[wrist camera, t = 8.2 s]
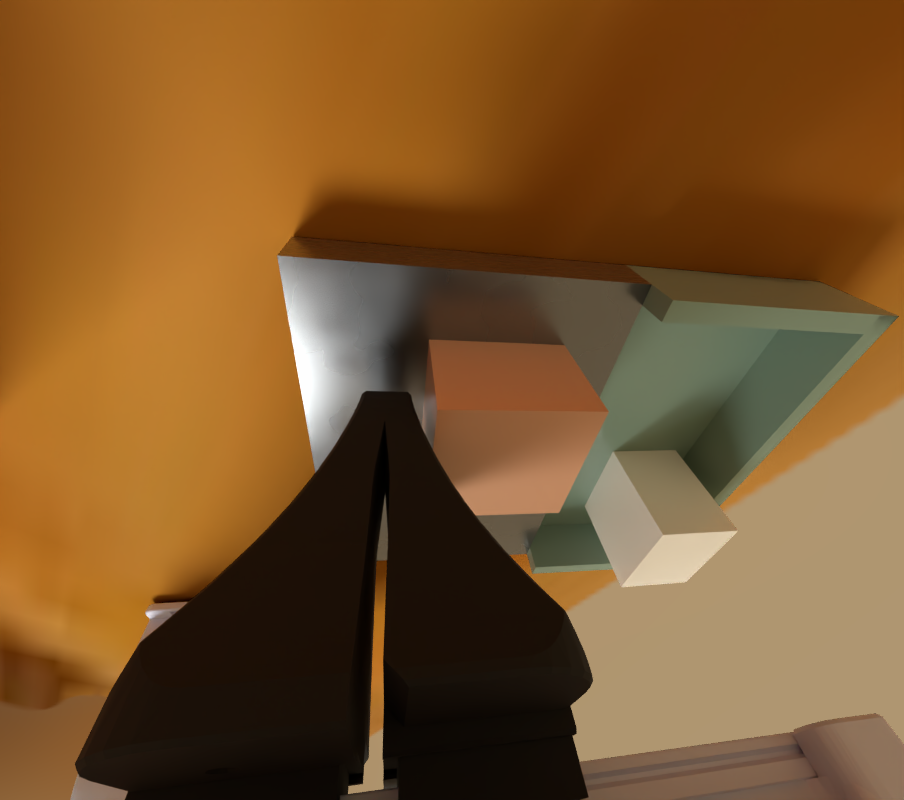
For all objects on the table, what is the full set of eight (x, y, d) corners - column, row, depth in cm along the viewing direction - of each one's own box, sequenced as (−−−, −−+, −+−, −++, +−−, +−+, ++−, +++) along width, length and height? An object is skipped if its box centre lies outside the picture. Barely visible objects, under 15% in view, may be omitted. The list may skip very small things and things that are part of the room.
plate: (335, 533, 18) (331, 562, 17) (291, 236, 10) (277, 255, 8) (519, 527, 20) (526, 553, 19) (625, 265, 11) (651, 284, 10)
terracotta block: (420, 441, 13) (425, 517, 10) (428, 339, 10) (437, 410, 8) (531, 440, 13) (558, 512, 11) (564, 344, 11) (608, 411, 9)
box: (519, 527, 20) (532, 573, 18) (625, 265, 11) (673, 300, 9) (638, 523, 21) (662, 566, 19) (820, 281, 12) (898, 316, 10)
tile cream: (621, 587, 16) (685, 582, 16) (663, 535, 13) (738, 530, 13) (584, 505, 19) (639, 503, 19) (612, 451, 16) (675, 450, 17)
